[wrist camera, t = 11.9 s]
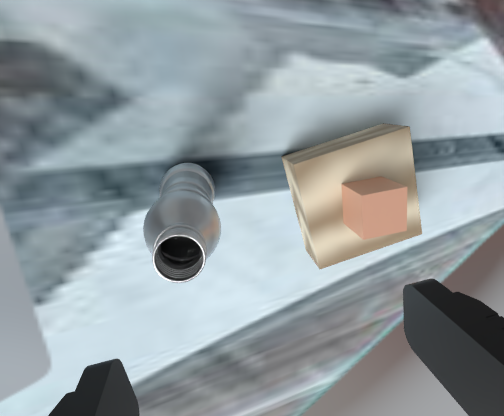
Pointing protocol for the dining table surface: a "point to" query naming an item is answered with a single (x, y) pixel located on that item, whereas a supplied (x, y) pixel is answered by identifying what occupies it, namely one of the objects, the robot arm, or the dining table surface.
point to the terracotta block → (374, 207)
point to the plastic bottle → (183, 223)
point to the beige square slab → (344, 171)
